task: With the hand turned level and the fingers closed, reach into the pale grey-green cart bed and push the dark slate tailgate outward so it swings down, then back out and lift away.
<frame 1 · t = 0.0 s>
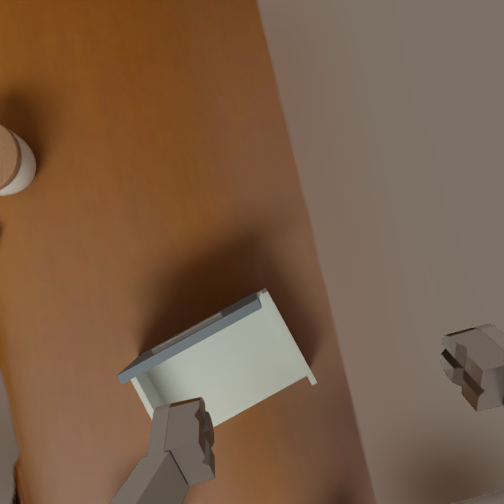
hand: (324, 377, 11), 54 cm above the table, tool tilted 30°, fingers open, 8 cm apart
cart bed: (224, 363, 65), on the table
lidded bowl: (17, 169, 66), on the table
tailgate: (194, 330, 57), point 8 cm above the table, hinge at 0.0°
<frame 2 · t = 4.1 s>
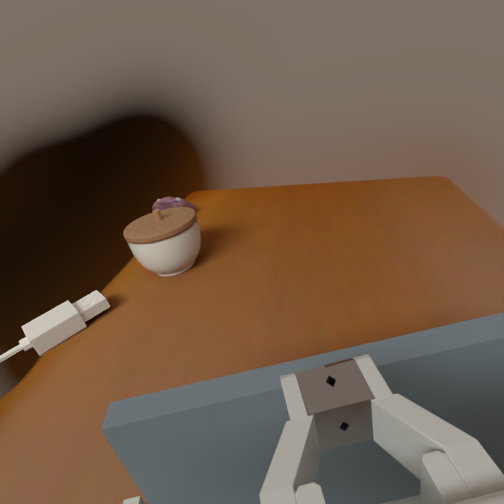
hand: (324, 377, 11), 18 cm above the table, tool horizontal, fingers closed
lidded bowl: (176, 266, 62), on the table
charging cable: (1, 371, 46), on the table
video game controller: (176, 217, 87), on the table
tailgate: (351, 430, 19), point 8 cm above the table, hinge at 0.0°
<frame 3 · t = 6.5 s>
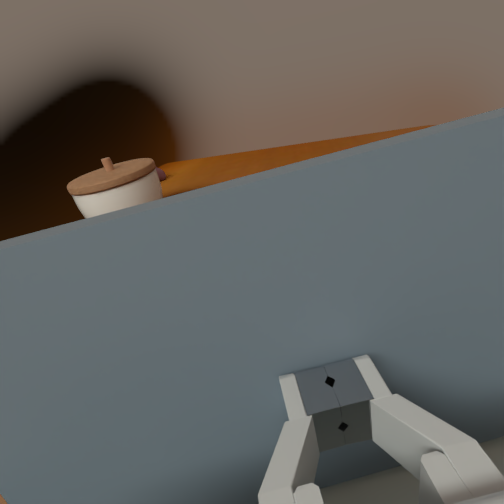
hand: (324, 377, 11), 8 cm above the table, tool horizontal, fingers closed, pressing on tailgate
lidded bowl: (135, 228, 53), on the table
video game controller: (145, 185, 78), on the table
tailgate: (322, 333, 12), point 8 cm above the table, hinge at 7.5°, touching gripper
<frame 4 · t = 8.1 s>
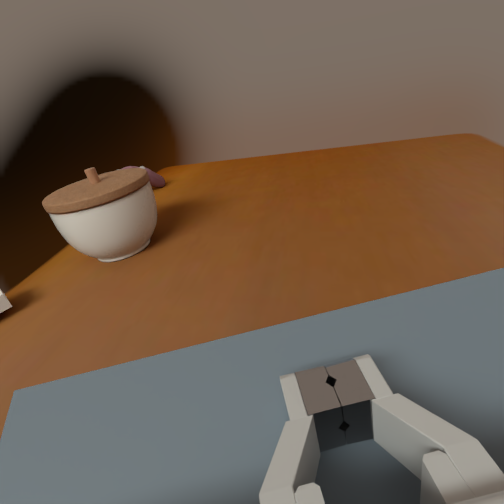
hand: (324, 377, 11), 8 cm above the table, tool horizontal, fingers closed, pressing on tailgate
lidded bowl: (125, 249, 46), on the table
video game controller: (142, 192, 71), on the table
tailgate: (362, 500, 10), point 5 cm above the table, hinge at 69.1°, touching gripper
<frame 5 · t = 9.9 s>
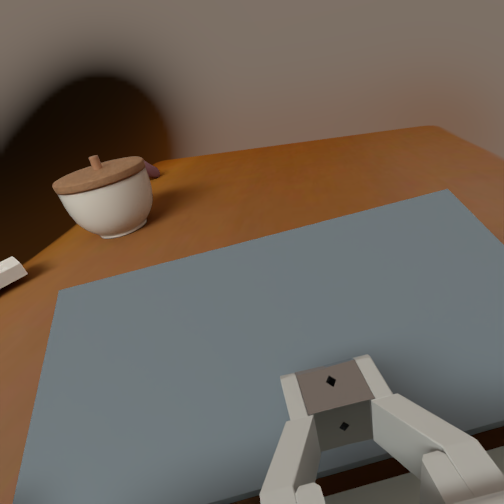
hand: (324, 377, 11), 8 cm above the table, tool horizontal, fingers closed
lidded bowl: (124, 228, 52), on the table
video game controller: (138, 183, 77), on the table
tailgate: (285, 336, 17), point 5 cm above the table, hinge at 69.5°
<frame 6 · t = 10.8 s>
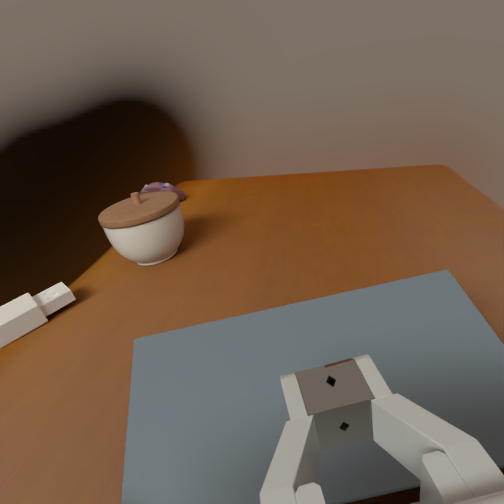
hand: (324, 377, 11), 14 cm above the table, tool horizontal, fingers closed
lidded bowl: (157, 255, 57), on the table
video game controller: (165, 204, 83), on the table
tailgate: (315, 389, 22), point 5 cm above the table, hinge at 69.5°
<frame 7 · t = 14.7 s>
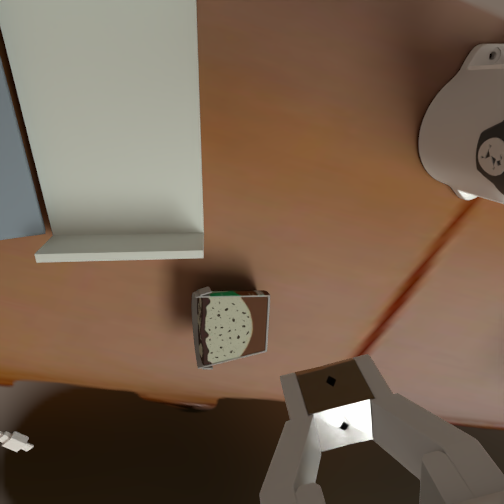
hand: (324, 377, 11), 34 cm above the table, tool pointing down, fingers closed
food container: (263, 312, 50), point 2 cm above the table
cart bed: (119, 120, 38), on the table
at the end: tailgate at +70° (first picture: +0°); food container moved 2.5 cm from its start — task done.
